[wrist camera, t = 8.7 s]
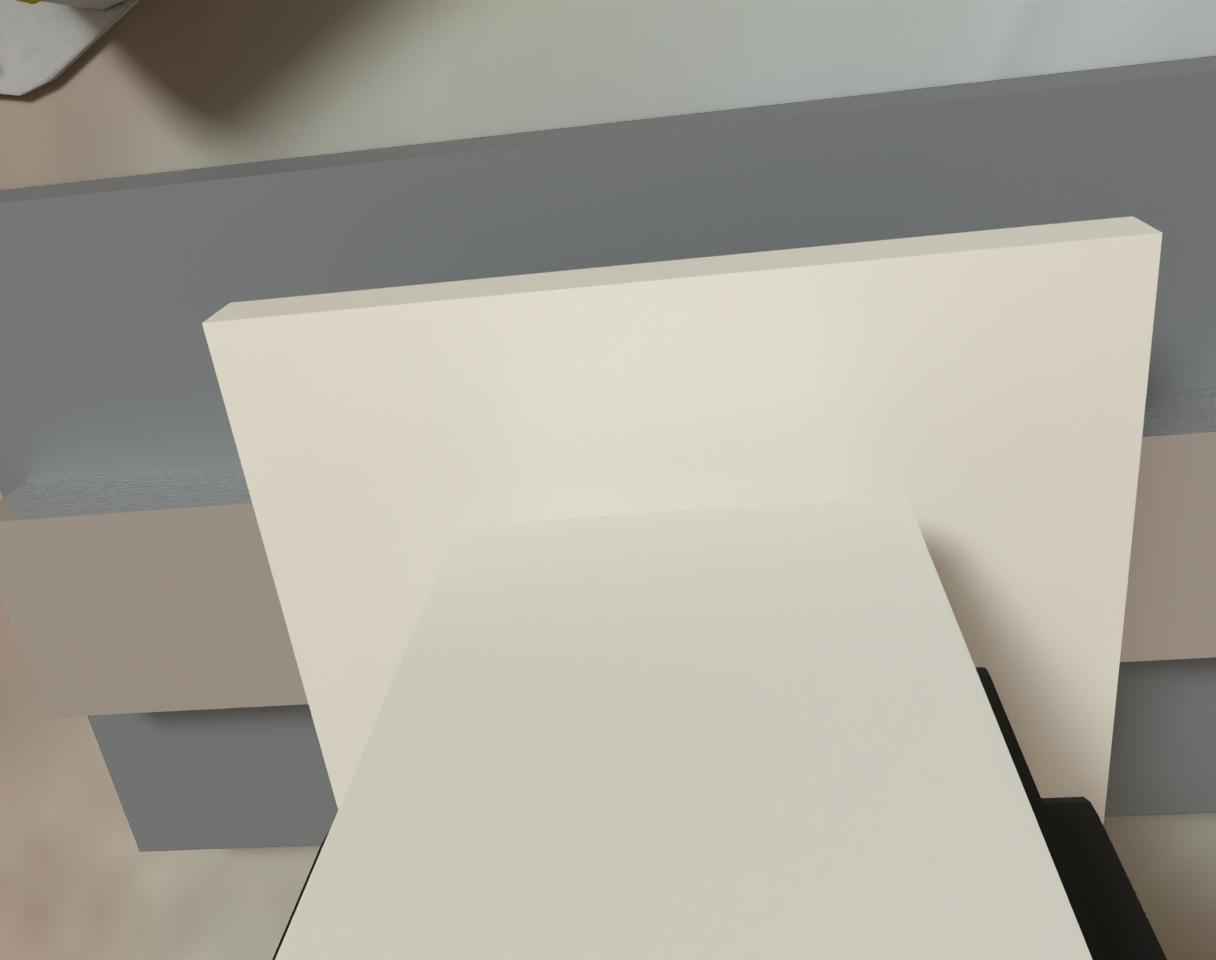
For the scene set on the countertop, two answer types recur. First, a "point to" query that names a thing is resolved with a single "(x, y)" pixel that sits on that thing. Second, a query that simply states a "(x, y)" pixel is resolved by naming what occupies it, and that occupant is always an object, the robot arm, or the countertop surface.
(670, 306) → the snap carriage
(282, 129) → the countertop surface
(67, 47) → the emergency button
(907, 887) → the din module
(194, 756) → the rail mount
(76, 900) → the countertop surface
